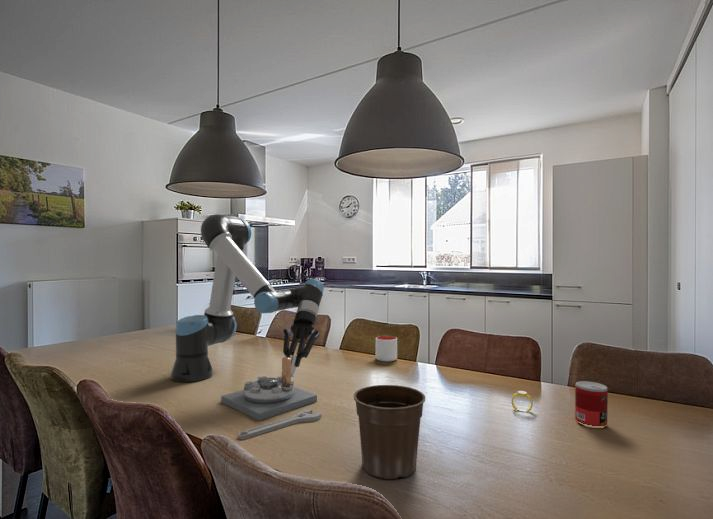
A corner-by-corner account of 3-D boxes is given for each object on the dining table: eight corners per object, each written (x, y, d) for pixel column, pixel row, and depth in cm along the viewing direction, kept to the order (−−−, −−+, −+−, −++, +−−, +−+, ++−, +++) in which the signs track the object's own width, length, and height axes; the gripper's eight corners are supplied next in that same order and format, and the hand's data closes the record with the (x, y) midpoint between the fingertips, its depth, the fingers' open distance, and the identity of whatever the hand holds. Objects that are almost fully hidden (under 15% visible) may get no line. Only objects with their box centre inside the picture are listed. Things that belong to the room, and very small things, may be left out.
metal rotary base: (233, 398, 130) (233, 358, 130) (266, 384, 144) (266, 348, 144) (274, 408, 122) (274, 364, 122) (305, 392, 136) (305, 353, 136)
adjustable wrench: (240, 442, 105) (240, 435, 105) (232, 433, 111) (232, 427, 111) (324, 419, 120) (324, 413, 120) (313, 412, 125) (313, 406, 125)
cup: (400, 358, 190) (401, 337, 190) (390, 363, 181) (391, 340, 181) (382, 355, 195) (382, 334, 195) (371, 360, 187) (371, 338, 187)
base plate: (221, 401, 133) (221, 395, 133) (277, 386, 149) (277, 380, 149) (259, 420, 118) (259, 413, 118) (317, 401, 134) (317, 395, 134)
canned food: (607, 431, 111) (607, 391, 111) (574, 425, 115) (574, 386, 115) (607, 422, 117) (607, 383, 117) (576, 416, 122) (576, 379, 122)
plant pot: (364, 445, 103) (364, 381, 103) (429, 454, 98) (429, 387, 98) (343, 478, 87) (344, 403, 87) (419, 491, 83) (420, 412, 82)
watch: (531, 411, 126) (533, 392, 126) (531, 415, 123) (533, 395, 123) (511, 407, 128) (512, 388, 128) (510, 410, 126) (512, 391, 126)
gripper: (326, 322, 150) (312, 381, 134) (291, 321, 153) (273, 379, 137) (322, 309, 144) (306, 370, 128) (285, 309, 147) (266, 367, 131)
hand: (289, 374), depth 133 cm, fingers closed
